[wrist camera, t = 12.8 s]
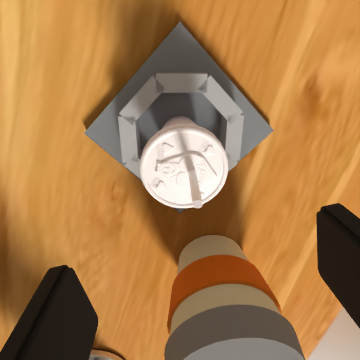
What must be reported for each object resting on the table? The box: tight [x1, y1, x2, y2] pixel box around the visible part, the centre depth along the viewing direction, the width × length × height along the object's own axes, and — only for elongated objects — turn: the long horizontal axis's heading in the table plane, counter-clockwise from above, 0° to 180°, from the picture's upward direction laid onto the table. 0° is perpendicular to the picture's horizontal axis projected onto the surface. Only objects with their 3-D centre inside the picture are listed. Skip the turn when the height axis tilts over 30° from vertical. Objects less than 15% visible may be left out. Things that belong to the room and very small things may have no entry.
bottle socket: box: [84, 22, 274, 213], centre depth 26 cm, size 14×14×4 cm
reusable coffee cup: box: [164, 235, 305, 360], centre depth 29 cm, size 13×13×15 cm
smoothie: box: [140, 116, 228, 208], centre depth 21 cm, size 6×6×14 cm
